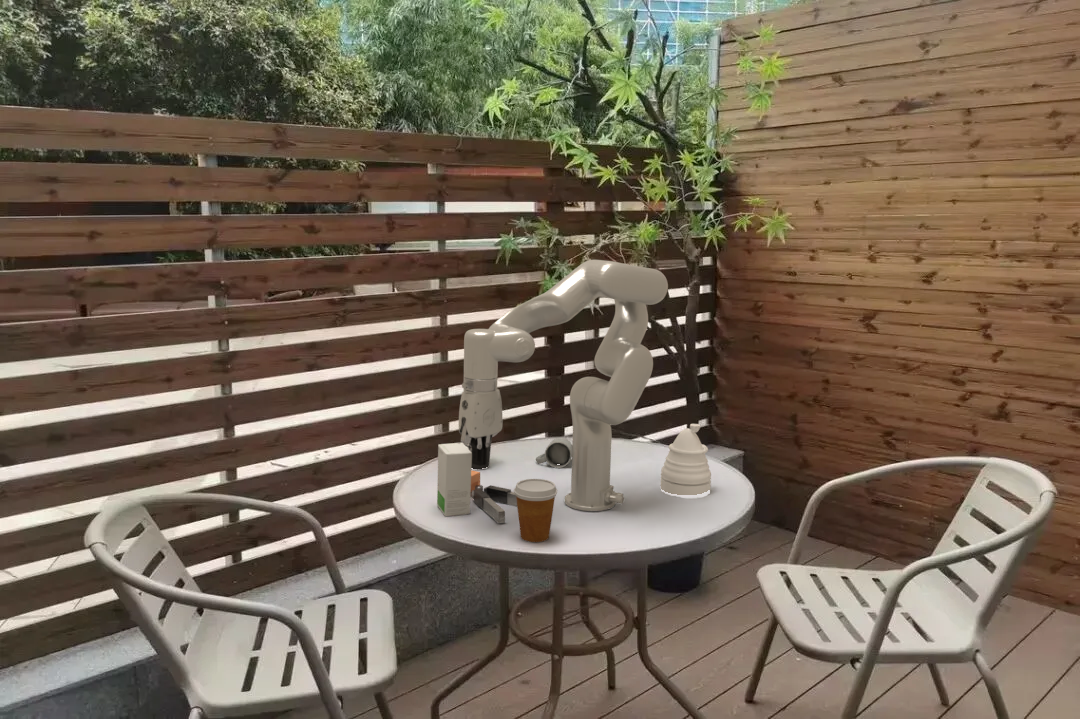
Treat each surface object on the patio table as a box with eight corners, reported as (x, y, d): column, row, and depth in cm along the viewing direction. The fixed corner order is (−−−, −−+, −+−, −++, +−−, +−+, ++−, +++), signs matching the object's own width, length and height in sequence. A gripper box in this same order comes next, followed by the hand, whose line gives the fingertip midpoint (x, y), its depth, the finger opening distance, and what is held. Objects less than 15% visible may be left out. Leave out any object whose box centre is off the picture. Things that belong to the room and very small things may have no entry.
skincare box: (436, 505, 198) (436, 443, 196) (463, 502, 201) (463, 441, 198) (445, 517, 190) (445, 453, 188) (472, 514, 193) (472, 451, 190)
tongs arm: (471, 499, 202) (471, 488, 201) (479, 498, 203) (479, 487, 202) (497, 523, 186) (498, 511, 186) (505, 522, 187) (505, 510, 187)
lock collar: (454, 498, 203) (454, 477, 202) (470, 490, 209) (470, 470, 208) (464, 500, 201) (464, 479, 200) (480, 492, 208) (480, 472, 207)
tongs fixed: (473, 499, 203) (473, 486, 203) (480, 495, 206) (480, 483, 205) (539, 513, 194) (540, 500, 193) (546, 509, 197) (546, 496, 196)
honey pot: (719, 490, 213) (723, 423, 210) (693, 502, 204) (697, 433, 201) (677, 479, 222) (680, 415, 219) (650, 490, 212) (653, 423, 209)
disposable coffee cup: (506, 541, 177) (507, 488, 175) (522, 526, 186) (523, 475, 184) (547, 548, 174) (548, 494, 172) (562, 532, 183) (563, 481, 181)
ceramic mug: (573, 460, 237) (574, 435, 236) (571, 469, 229) (571, 442, 228) (537, 459, 238) (537, 433, 237) (533, 467, 230) (533, 441, 229)
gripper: (468, 392, 173) (467, 475, 176) (515, 382, 184) (513, 460, 188) (444, 386, 178) (443, 467, 181) (491, 378, 189) (489, 454, 192)
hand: (479, 463), depth 184 cm, fingers closed
